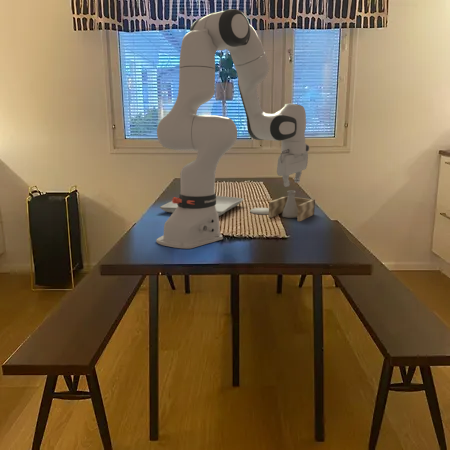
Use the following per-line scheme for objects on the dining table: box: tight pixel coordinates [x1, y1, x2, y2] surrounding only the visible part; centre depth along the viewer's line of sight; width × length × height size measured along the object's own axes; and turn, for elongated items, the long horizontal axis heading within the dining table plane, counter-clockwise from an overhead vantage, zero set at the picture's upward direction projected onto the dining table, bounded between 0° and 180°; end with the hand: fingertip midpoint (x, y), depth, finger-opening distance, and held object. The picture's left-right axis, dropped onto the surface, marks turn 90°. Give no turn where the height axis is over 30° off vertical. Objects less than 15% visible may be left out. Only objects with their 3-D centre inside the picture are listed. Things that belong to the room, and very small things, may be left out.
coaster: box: [249, 207, 269, 215], centre depth 189 cm, size 10×10×1 cm
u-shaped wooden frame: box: [268, 195, 316, 222], centre depth 181 cm, size 14×13×6 cm
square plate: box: [159, 195, 245, 216], centre depth 193 cm, size 27×27×4 cm
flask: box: [281, 190, 298, 219], centre depth 180 cm, size 7×7×10 cm
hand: (291, 184), depth 179 cm, fingers open, 8 cm apart
